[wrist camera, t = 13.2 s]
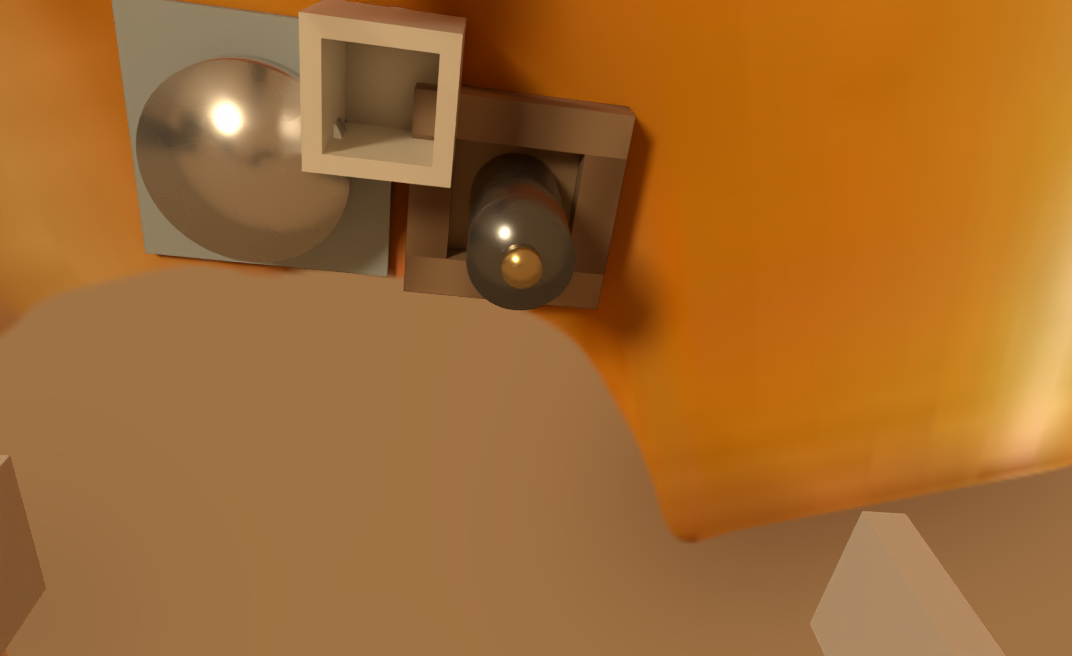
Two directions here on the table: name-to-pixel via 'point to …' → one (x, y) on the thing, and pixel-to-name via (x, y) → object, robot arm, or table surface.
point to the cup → (378, 90)
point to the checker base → (207, 31)
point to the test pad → (237, 160)
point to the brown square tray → (531, 128)
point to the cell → (518, 234)
